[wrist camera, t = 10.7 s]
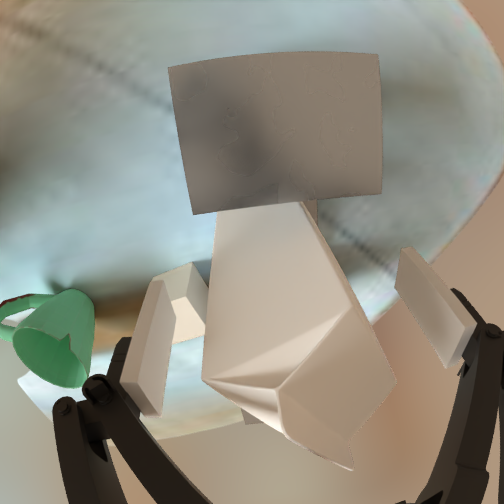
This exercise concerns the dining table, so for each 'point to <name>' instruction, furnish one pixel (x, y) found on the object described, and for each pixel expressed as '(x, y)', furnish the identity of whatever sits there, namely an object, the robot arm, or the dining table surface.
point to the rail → (278, 130)
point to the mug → (53, 335)
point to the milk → (290, 331)
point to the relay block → (186, 301)
